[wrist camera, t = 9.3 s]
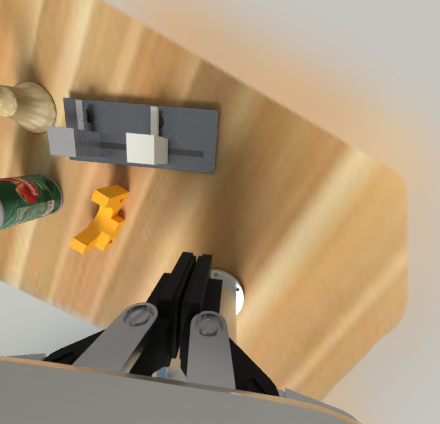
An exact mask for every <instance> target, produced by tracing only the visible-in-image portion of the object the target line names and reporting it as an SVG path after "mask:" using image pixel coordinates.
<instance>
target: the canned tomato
mask: <svg viewBox="0 0 440 424" xmlns="http://www.w3.org/2000/svg"><path fill="white" fill-rule="evenodd" d="M62 204H63V195H62V191H61V189H60V187H59V186H58V184H57V183H56V182H55V181H54V180H53V179H51V178H49V177H47V176H45V175H33V176H22V177H12V178H11V177H10V178H0V230H1V229H5V228H7V227H11V226H14V225H17V224H20V223H23V222H26V221H30V220H33V219H36V218H39V217H42V216H46V215H49V214H53V213H55V212H57V211H58V210H59V209H60V208H61V206H62Z"/></svg>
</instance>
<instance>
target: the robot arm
mask: <svg viewBox="0 0 440 424" xmlns="http://www.w3.org/2000/svg"><path fill="white" fill-rule="evenodd" d="M211 266H212V255H207V254H203V255H202V256H199V257H198V259H197V262H196V256H194V255H193V253H190V252H183V253H182V254H181V256H180V258H179V260H178V262H177V264H176V265H175V267H174V269H173V271H172V273H164V274H163V275H162V277H161V279H160V280H159V282H158V284H157V285H156V287H155V289H154V290H153V292H152V293H151V295H150V297H149V298H148V300H147V302H146V303H144V302H143V303H137V304H133V305H131V306H129V307H127V308H126V309H125V310H124V311H123V312H122V313H121V314H120V315H119V316H118V317H117V318H116V319H115V320H114V321H113V322H112V323H111V324H110V325H109V326H108V327H107V329H105V330H103V331H100V332H98V333H96V334H94V335H91V336H89V337H87V338H85V339H82V340H80V341H78V342H75V343H73V344H70V345H68V346H66V347H64V348H61V349H59V350H57V351H55V352H53V353H52V354H50V355H49V356H48V357H46V354H31V355H20V356H7V357H5V356H0V424H361V423H359V422H358V421H357V420H356V419H355V418H354V417H353V416H351V415H350V414H348V413H346V412H344V411H343V410H340V409H338V408H335V407H332V406H330V405H327V404H325V403H322V402H320V401H317V400H315V399H312V398H310V397H307V396H304V395H302V394H299V393H297V392H294V391H292V390H289V389H287V388H285V392H284V391H282V390H279V389H277V388H276V386H275V385H274V383H273V382H272V381H271V379H270V378H269V377H268V376H267V375H266V374H265V373H264V372H263V371H262V370H261V369H260V368H259V367H258V366H257V365H256V364H255V363H254V362H253V361H252V360H251V359H250V358H249V357H248V356H247V355H246V354H245V353H244V352H243V351H242V350H241V349H240V348H239V347H238V346H237V345H236V315H237V314H238V313H239V311H240V310H241V308H242V306H243V302H244V293H243V289H242V286H241V284H240V282H239V281H238V280H237V279H236V278H235V277H234V276H233V275H231V274H230V273H228V272H226V271H223V270H219V269H211ZM162 367H167V371H166V379H164V378H157V377H156V376H157V371H158V370H159V369H161V368H162Z"/></svg>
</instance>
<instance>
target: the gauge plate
mask: <svg viewBox="0 0 440 424" xmlns="http://www.w3.org/2000/svg"><path fill="white" fill-rule="evenodd" d="M63 101H64V110H65V120H66V128H65V127H54V126H47V133H48V140H49V148H50V155H59V156H69V157H70V160H79V161H89V162H100V163H110V164H120V165H131V166H141V167H151V168H162V169H172V170H182V171H193V172H203V173H213V174H214V173H215V160H216V148H217V135H218V123H219V110H208V109H195V108H183V107H171V106H159V105H146V104H134V103H122V102H110V101H97V100H85V99H73V98H63ZM151 106H152V107H158V108H159V137H163V138H167V139H168V163H166V164H157V165H151V164H140V163H130V162H127V145H126V133H134V134H146V135H151Z"/></svg>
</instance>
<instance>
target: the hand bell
mask: <svg viewBox="0 0 440 424" xmlns="http://www.w3.org/2000/svg"><path fill="white" fill-rule="evenodd" d="M0 115H1V116H4V117H8V118H11V119H14V120H16V122H17V123H18V124H19V125H20V126H22V127H23V128H24V129H26V130H27V131H30V132H32V133H44V132H47V126H53V125H54V123H55V119H56V107H55V104H54V101H53V99H52V97H51V96H50V94H49V93H48V92H47V91H46V90H45V89H44V88H43V87H42V86H40V85H38V84H36V83H33V82H22V83H19V84H17V85H16V86H15V87H10V86H4V85H0Z"/></svg>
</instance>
